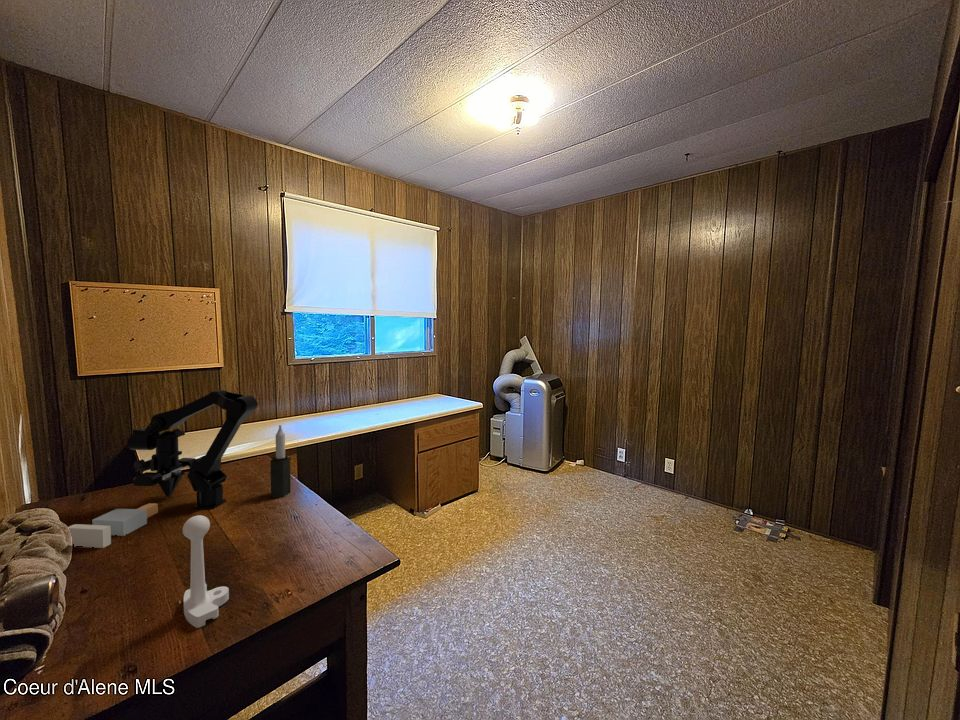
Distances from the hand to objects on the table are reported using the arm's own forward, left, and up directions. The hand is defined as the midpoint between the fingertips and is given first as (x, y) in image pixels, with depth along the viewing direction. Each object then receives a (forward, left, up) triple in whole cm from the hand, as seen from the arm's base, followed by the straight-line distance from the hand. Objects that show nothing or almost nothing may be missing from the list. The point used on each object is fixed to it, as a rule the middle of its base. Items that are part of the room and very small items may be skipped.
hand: (168, 496), depth 125 cm
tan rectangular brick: (0, +9, -3) cm, 9 cm away
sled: (0, +16, -3) cm, 16 cm away
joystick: (-47, +44, -3) cm, 65 cm away
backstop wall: (0, +25, -3) cm, 25 cm away
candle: (-31, -11, -3) cm, 33 cm away
